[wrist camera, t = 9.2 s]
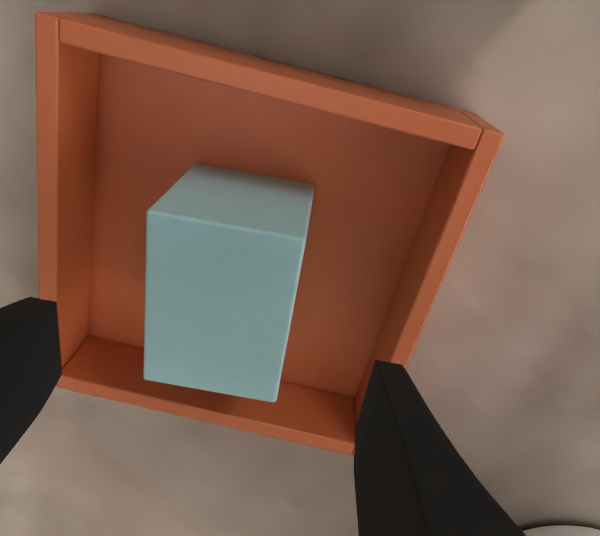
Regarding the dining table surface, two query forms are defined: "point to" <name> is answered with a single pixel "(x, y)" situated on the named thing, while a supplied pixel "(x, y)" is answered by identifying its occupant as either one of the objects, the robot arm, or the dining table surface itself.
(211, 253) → the light blue box
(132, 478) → the dining table surface
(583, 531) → the fruit juice
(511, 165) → the dining table surface
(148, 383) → the terracotta tote
